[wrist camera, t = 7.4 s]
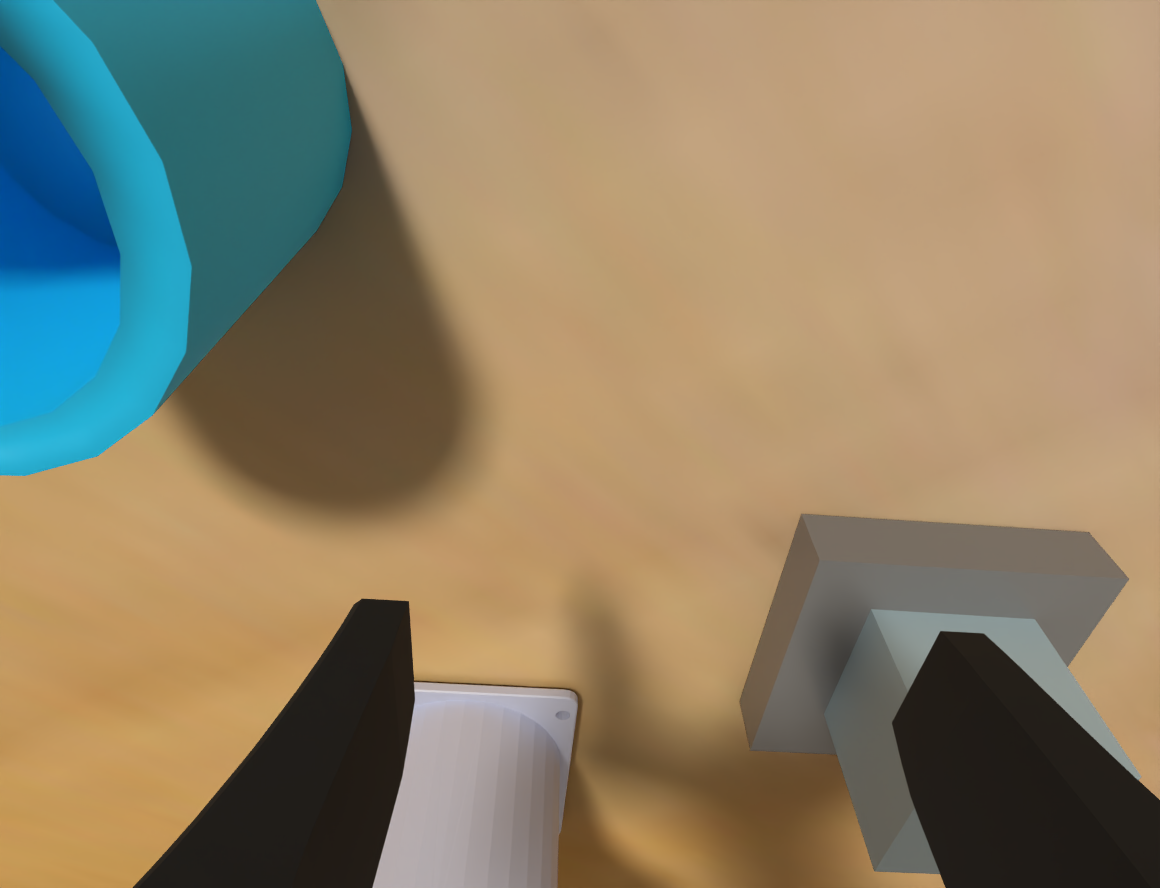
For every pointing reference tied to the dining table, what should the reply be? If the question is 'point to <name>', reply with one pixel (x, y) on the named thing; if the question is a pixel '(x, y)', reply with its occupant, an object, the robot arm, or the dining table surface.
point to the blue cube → (877, 693)
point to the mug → (148, 198)
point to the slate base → (907, 604)
